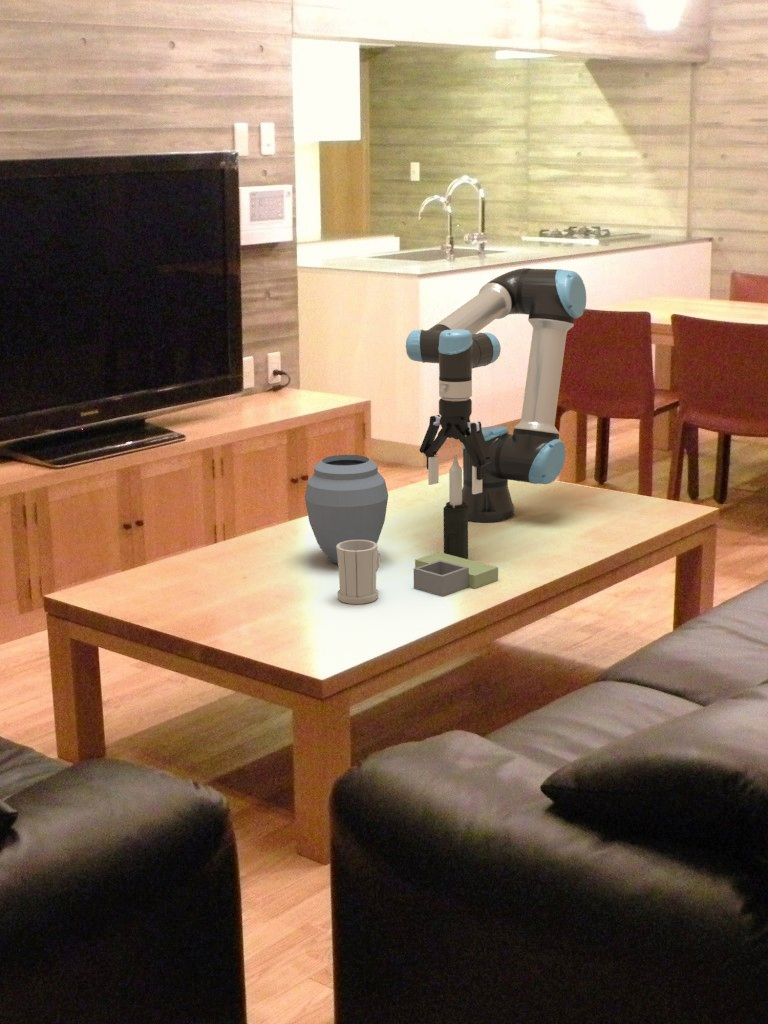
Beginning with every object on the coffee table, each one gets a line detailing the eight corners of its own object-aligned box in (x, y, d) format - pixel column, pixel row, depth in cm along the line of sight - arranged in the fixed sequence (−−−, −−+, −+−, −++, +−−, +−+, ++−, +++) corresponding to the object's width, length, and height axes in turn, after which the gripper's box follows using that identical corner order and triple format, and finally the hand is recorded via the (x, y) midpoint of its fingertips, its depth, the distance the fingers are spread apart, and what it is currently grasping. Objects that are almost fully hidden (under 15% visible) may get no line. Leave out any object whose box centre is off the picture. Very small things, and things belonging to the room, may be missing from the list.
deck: (388, 580, 311) (388, 561, 309) (438, 564, 322) (438, 545, 321) (448, 598, 298) (448, 578, 297) (498, 580, 310) (498, 561, 308)
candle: (469, 556, 328) (469, 453, 321) (463, 562, 323) (463, 458, 316) (448, 554, 329) (448, 452, 323) (442, 560, 324) (441, 457, 318)
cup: (339, 589, 305) (338, 537, 302) (380, 589, 305) (379, 537, 302) (336, 605, 295) (334, 551, 292) (378, 604, 295) (377, 551, 292)
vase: (289, 562, 326) (285, 461, 319) (347, 543, 339) (345, 447, 333) (348, 578, 313) (346, 474, 306) (406, 558, 326) (405, 458, 320)
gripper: (404, 394, 322) (405, 482, 327) (486, 406, 305) (485, 500, 310) (426, 390, 327) (426, 477, 332) (508, 402, 310) (506, 494, 315)
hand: (455, 488), depth 321 cm, fingers open, 13 cm apart
